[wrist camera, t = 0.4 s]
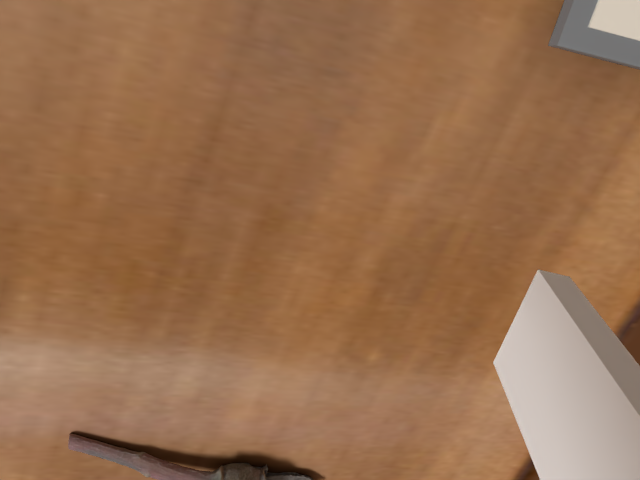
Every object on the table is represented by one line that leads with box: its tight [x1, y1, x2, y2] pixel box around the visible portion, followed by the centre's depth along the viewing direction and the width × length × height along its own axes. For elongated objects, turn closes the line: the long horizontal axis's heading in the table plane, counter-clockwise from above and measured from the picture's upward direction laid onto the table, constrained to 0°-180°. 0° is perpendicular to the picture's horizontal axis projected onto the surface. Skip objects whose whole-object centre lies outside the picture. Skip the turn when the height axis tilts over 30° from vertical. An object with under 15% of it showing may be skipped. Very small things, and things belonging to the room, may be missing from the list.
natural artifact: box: [68, 434, 313, 480], centre depth 46 cm, size 4×23×4 cm, turn 70°
